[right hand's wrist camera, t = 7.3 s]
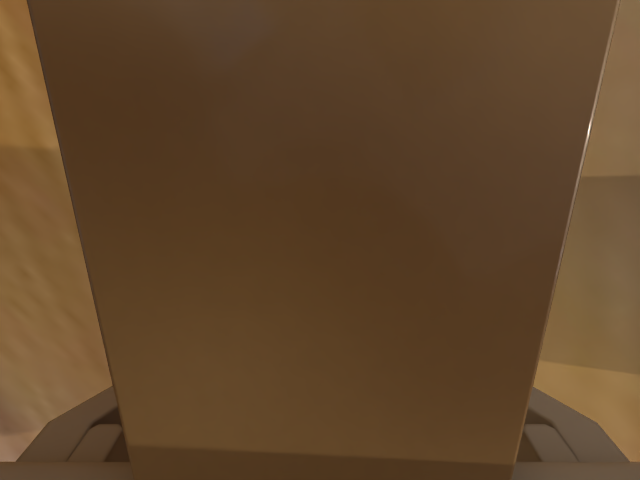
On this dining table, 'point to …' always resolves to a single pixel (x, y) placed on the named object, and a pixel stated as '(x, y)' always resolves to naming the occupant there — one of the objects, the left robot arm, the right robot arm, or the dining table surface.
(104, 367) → the dining table surface
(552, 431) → the right robot arm
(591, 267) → the dining table surface
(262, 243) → the bar
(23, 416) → the dining table surface
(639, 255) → the dining table surface
